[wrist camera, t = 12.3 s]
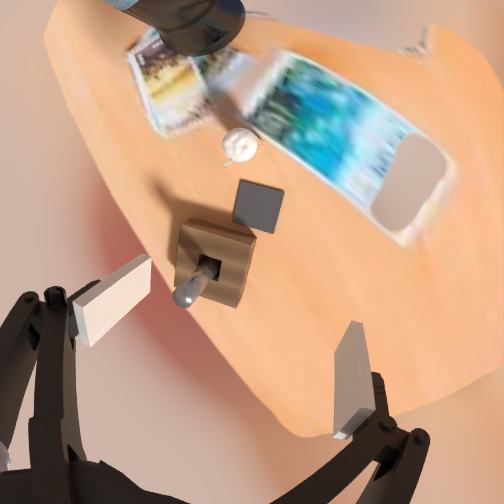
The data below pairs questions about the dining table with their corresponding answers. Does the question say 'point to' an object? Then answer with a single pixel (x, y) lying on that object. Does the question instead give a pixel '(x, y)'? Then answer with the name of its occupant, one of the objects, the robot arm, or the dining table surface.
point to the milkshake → (241, 145)
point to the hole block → (219, 247)
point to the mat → (257, 206)
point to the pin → (196, 282)
